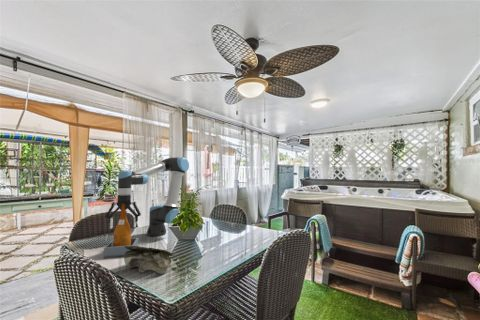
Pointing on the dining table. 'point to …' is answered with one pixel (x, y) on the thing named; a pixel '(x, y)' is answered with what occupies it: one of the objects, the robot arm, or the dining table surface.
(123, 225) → the wine bottle
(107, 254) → the crate
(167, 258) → the hollow geode rock
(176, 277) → the dining table surface
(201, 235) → the dining table surface
